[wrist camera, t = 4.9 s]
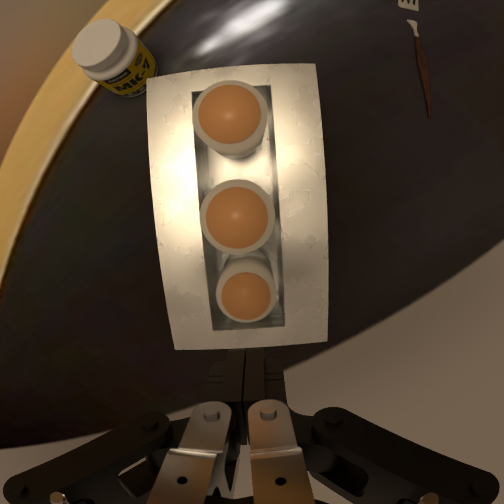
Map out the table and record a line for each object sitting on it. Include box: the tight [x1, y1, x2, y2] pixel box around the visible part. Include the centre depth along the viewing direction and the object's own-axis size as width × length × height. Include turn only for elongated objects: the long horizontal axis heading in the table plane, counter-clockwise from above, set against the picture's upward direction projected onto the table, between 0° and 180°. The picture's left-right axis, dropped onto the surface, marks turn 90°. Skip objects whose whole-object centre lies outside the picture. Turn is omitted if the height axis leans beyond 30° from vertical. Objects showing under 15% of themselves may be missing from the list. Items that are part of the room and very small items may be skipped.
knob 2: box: [199, 179, 275, 254], centre depth 19 cm, size 4×4×6 cm
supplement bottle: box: [72, 19, 158, 97], centre depth 19 cm, size 5×5×8 cm
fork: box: [398, 0, 431, 119], centre depth 22 cm, size 3×16×2 cm, turn 3°
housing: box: [147, 64, 328, 350], centre depth 23 cm, size 12×19×7 cm, turn 4°
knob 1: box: [192, 80, 268, 159], centre depth 18 cm, size 4×4×6 cm
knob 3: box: [216, 249, 276, 323], centre depth 23 cm, size 4×4×6 cm
